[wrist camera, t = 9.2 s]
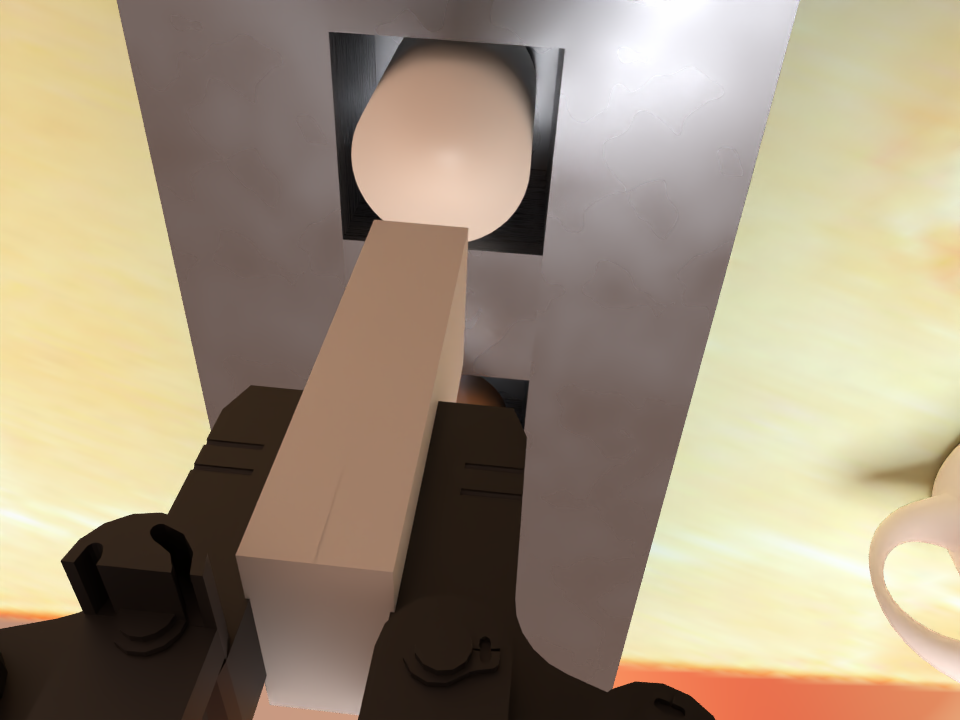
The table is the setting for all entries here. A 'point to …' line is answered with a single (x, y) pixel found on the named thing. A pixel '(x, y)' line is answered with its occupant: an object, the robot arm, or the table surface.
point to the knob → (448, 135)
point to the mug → (936, 520)
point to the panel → (493, 258)
